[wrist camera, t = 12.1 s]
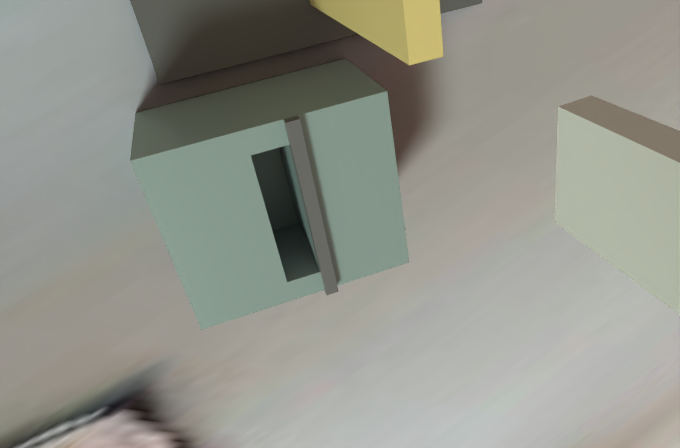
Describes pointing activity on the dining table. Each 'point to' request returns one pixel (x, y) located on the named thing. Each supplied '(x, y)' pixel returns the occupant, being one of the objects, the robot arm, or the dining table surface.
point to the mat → (234, 31)
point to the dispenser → (273, 188)
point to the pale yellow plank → (392, 25)
